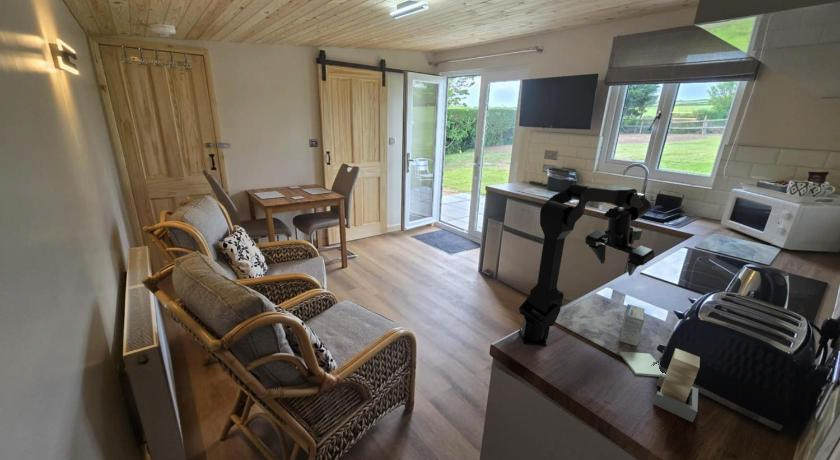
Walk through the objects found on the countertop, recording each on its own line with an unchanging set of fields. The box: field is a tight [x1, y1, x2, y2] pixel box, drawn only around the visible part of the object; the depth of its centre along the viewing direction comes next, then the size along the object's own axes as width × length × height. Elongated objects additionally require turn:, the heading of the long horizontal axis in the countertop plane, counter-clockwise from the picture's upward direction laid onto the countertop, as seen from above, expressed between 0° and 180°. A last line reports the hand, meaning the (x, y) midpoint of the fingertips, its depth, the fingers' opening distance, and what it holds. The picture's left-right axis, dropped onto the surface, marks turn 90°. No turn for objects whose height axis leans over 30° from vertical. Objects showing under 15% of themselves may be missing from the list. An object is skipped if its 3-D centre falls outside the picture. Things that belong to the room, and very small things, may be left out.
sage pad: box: [619, 351, 666, 377], centre depth 89 cm, size 8×8×1 cm
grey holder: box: [653, 374, 699, 423], centre depth 77 cm, size 7×8×3 cm
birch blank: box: [659, 347, 701, 404], centre depth 76 cm, size 4×4×12 cm
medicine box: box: [619, 303, 645, 347], centre depth 99 cm, size 8×4×9 cm, turn 148°
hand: (616, 268), depth 108 cm, fingers open, 9 cm apart
